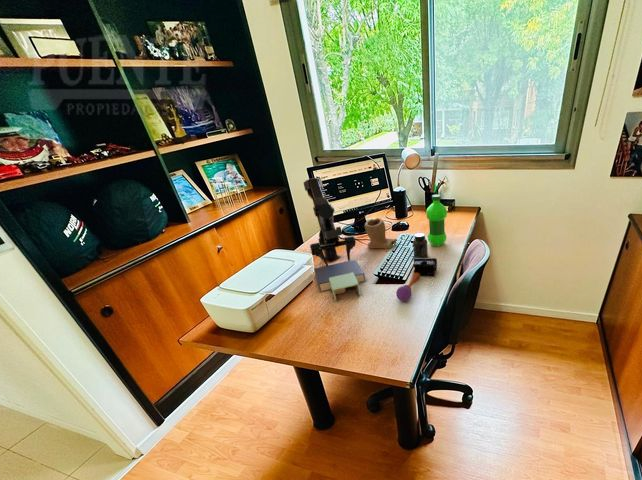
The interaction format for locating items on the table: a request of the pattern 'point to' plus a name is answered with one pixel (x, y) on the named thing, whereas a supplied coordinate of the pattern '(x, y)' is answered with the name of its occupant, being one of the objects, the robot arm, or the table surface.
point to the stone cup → (378, 234)
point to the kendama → (407, 288)
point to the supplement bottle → (420, 246)
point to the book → (337, 273)
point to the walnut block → (350, 288)
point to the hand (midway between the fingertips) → (338, 263)
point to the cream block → (339, 291)
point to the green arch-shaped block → (343, 282)
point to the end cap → (425, 266)
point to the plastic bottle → (436, 221)
